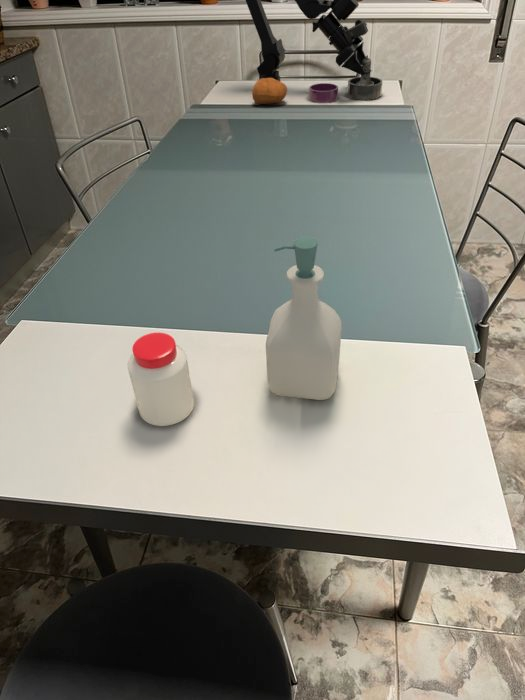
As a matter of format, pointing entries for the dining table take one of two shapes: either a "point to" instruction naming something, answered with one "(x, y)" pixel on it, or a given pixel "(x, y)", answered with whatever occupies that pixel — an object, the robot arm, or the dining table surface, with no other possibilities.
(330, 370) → the soap bottle
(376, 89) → the charcoal bowl
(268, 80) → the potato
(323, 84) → the plum bowl
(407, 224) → the dining table surface
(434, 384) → the dining table surface
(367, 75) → the salt shaker
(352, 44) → the robot arm
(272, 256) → the dining table surface
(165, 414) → the pill bottle
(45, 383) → the dining table surface
